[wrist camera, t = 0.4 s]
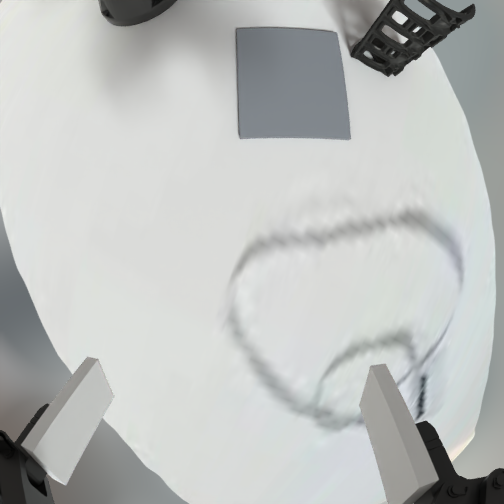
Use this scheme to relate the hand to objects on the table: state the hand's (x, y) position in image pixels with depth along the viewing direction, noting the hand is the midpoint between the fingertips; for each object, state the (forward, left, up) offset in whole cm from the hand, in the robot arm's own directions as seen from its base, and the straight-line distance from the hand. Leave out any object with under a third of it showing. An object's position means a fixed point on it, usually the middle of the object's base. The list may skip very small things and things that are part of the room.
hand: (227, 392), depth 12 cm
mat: (-25, +7, -28) cm, 38 cm away
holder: (-31, +22, -28) cm, 47 cm away
